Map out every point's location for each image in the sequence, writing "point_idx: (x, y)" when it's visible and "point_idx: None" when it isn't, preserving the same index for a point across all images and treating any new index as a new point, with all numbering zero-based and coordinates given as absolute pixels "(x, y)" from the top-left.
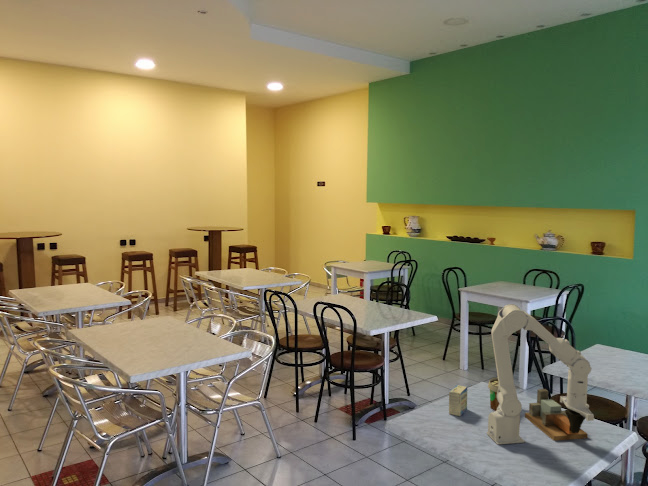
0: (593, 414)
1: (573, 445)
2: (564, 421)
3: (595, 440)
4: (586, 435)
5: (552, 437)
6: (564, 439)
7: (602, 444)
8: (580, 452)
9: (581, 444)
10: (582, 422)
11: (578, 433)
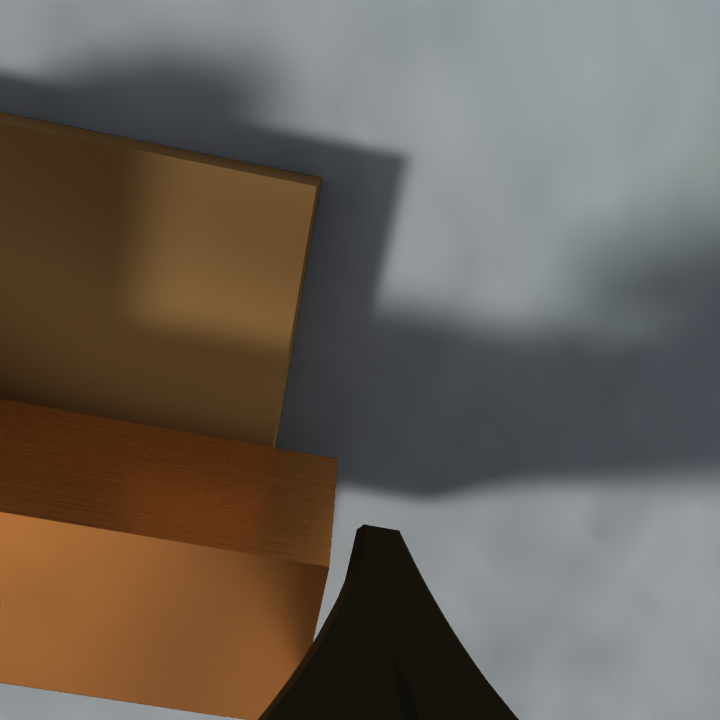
0: None
1: (425, 542)
2: (81, 677)
3: (434, 108)
4: (315, 207)
5: None
6: None
7: (589, 112)
8: (600, 593)
9: (447, 427)
10: (502, 702)
11: (255, 342)
